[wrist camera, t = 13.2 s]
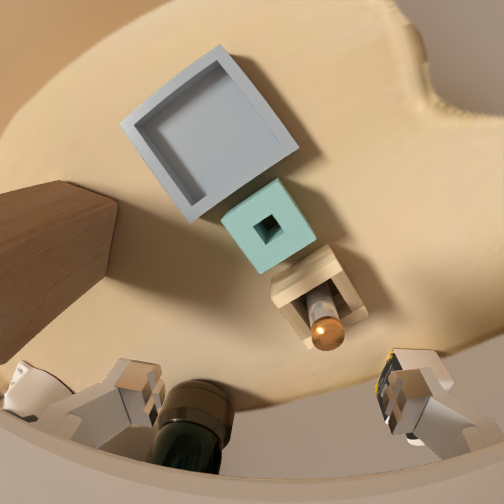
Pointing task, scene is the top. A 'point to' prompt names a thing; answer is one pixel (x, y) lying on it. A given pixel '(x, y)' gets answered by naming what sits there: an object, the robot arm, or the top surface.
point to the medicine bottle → (406, 361)
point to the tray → (207, 133)
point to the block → (48, 255)
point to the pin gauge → (324, 318)
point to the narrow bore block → (276, 239)
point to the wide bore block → (308, 277)
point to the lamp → (193, 428)
